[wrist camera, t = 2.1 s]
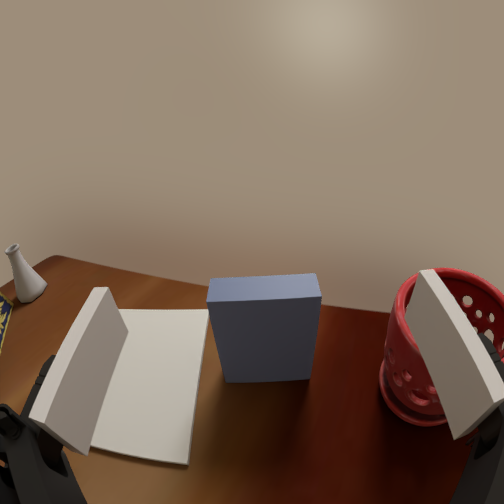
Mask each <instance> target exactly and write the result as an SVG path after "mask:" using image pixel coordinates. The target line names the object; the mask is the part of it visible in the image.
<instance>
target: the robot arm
mask: <svg viewBox="0 0 504 504" xmlns="http://www.w3.org/2000/svg"><path fill="white" fill-rule="evenodd" d="M404 319H405V321H406V323H407V325H408V327H409V329H410V331H411V333H412V335H413V337H414V340H415V342H416V344H417V346H418V348H419V351H420V353H421V355H422V357H423V360H424V362H425V364H426V367H427V369H428V371H429V374H430V376H431V378H432V381H433V383H434V386H435V388H436V391H437V394H438V396H439V399H440V401H441V404H442V407H443V409H444V412H445V415H446V418H447V421H448V423H449V426H450V429H451V432H452V435H453V439H454V440H455V439H458V438H460V437H462V436H465V435H467V434H469V433H470V432H472V431H473V430H474V429H475V428H476V427H477V426H478V429H479V431H478V432H477V433H476V434H475V435H473V436H472V437H471V438H470V439H469V440H468V441H467V443H466V445H467V446H468V445H469V444H470V443H471V442H473V441H474V443H473V444H472V445H471V446H470V447H472V449H471V452H470V455H469V457H468V460H467V463H466V466H465V468H464V471H463V473H462V476H461V478H460V481H459V483H458V485H457V488H456V490H455V492H454V494H453V497H452V499H451V501H450V503H449V504H504V363H503V361H501V358H500V356H499V354H498V353H497V351H496V349H495V347H494V345H493V344H492V342H491V340H489V339H488V338H487V337H486V336H485V335H484V334H483V333H479V334H477V333H476V332H475V330H474V328H473V327H472V325H471V323H470V322H469V320H468V319H467V317H466V316H465V314H464V312H463V311H462V309H461V308H460V306H459V305H458V303H457V302H456V300H455V299H454V297H453V296H452V294H451V293H450V292H449V290H448V289H447V287H446V286H445V284H444V283H443V282H442V280H441V279H440V278H439V276H438V275H437V273H436V272H435V271H434V269H430V270H421V271H419V274H418V277H417V280H416V284H415V287H414V290H413V293H412V296H411V299H410V302H409V305H408V308H407V311H406V313H405V316H404ZM128 332H129V331H128V329H127V327H126V325H125V323H124V321H123V319H122V317H121V314H120V312H119V310H118V308H117V306H116V304H115V301H114V299H113V297H112V294H111V292H110V290H109V287H94V289H93V290H92V292H91V294H90V295H89V297H88V299H87V300H86V302H85V304H84V305H83V307H82V309H81V311H80V312H79V314H78V316H77V318H76V319H75V321H74V323H73V325H72V327H71V328H70V330H69V332H68V334H67V336H66V338H65V339H64V341H63V343H62V345H61V347H60V349H59V351H58V353H57V355H51V357H50V358H49V359H48V360H47V361H46V362H45V363H44V364H43V366H42V368H41V370H40V373H39V376H38V377H37V379H36V381H35V385H33V387H32V389H31V392H30V394H29V396H28V398H27V401H26V403H25V405H24V408H23V410H22V412H21V414H20V416H19V415H18V414H17V413H16V412H14V411H13V410H12V409H11V408H10V407H9V406H8V405H6V404H0V460H2V461H3V462H5V467H2V466H0V504H87V502H86V500H85V498H84V496H83V494H82V492H81V489H80V487H79V485H78V483H77V481H76V478H75V476H74V474H73V472H72V469H71V467H70V464H69V462H68V459H67V457H66V454H65V453H64V451H63V450H62V448H63V445H64V446H65V447H67V448H68V449H69V450H71V451H73V452H76V453H79V454H82V455H85V456H88V452H89V448H90V445H91V441H92V437H93V434H94V431H95V427H96V424H97V421H98V417H99V414H100V411H101V408H102V405H103V402H104V399H105V396H106V393H107V390H108V387H109V384H110V381H111V378H112V375H113V372H114V370H115V367H116V364H117V361H118V359H119V356H120V353H121V351H122V348H123V345H124V343H125V340H126V338H127V335H128Z"/></svg>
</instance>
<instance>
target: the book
mask: <svg viewBox="0 0 504 504" xmlns="http://www.w3.org/2000/svg"><path fill="white" fill-rule="evenodd" d="M321 299H322V295H321V292H320V288H319V284H318V281H317V277H316V273H313V274H294V275H276V276H255V277H234V278H211V280H210V285H209V290H208V296H207V301H206V302H207V307H208V312H209V316H210V320H211V325H212V329H213V333H214V338H215V342H216V346H217V350H218V354H219V358H220V362H221V366H222V370H223V374H224V378H225V382H226V383H247V382H275V381H291V380H304V379H310V376H311V370H312V364H313V357H314V351H315V344H316V337H317V330H318V323H319V315H320V307H321Z"/></svg>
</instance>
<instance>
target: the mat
mask: <svg viewBox="0 0 504 504" xmlns="http://www.w3.org/2000/svg"><path fill="white" fill-rule="evenodd" d="M118 310H119V312H120V314H121V317H122V319H123V321H124V323H125V325H126V327H127V329H128V331H129V332H128V335H127V338H126V340H125V343H124V345H123V348H122V351H121V353H120V356H119V359H118V361H117V364H116V367H115V370H114V372H113V375H112V378H111V381H110V384H109V387H108V390H107V393H106V396H105V399H104V402H103V405H102V408H101V411H100V414H99V417H98V421H97V424H96V427H95V431H94V434H93V437H92V441H91V445H90V446H91V447H95V448H98V449H102V450H106V451H110V452H114V453H118V454H123V455H127V456H132V457H137V458H142V459H148V460H154V461H160V462H167V463H175V464H183V465H189V459H190V451H191V442H192V434H193V426H194V418H195V410H196V403H197V395H198V388H199V381H200V374H201V367H202V360H203V353H204V347H205V340H206V334H207V327H208V321H209V312H208V309H206V310H132V309H118Z"/></svg>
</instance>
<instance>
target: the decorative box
mask: <svg viewBox="0 0 504 504" xmlns="http://www.w3.org/2000/svg"><path fill="white" fill-rule="evenodd" d="M13 305H14V303H13V302H12V301H10V300H9V299H8V298H7V297H6V296H4V295H3V294H2V293H1V292H0V352H1V348H2V344H3V340H4V336H5V332H6V328H7V325H8V321H9V318H10V315H11V311H12V308H13Z"/></svg>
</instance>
